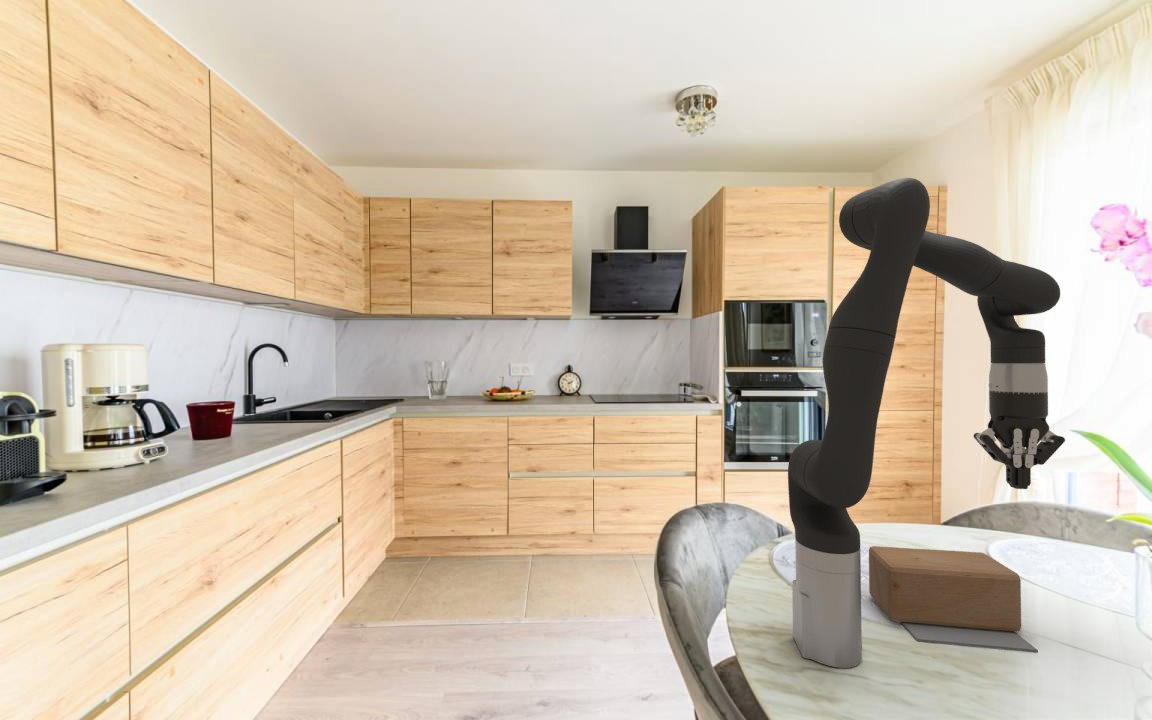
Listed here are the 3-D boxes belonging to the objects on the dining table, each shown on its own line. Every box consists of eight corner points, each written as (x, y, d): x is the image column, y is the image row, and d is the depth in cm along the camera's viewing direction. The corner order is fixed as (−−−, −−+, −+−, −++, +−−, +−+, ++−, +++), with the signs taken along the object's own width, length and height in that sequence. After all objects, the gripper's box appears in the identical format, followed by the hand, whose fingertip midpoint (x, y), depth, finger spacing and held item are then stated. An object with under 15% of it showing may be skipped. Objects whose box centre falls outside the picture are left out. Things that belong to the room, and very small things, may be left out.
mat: (917, 641, 77) (916, 638, 77) (870, 588, 95) (870, 586, 95) (1037, 652, 74) (1037, 649, 74) (966, 595, 92) (966, 593, 92)
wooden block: (1023, 574, 78) (889, 565, 82) (1024, 634, 78) (890, 623, 82) (984, 550, 88) (866, 543, 92) (985, 604, 88) (867, 594, 92)
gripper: (988, 390, 80) (989, 492, 80) (1080, 390, 77) (1081, 495, 77) (961, 387, 87) (962, 481, 87) (1044, 388, 85) (1045, 483, 85)
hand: (1018, 487), depth 82 cm, fingers closed
